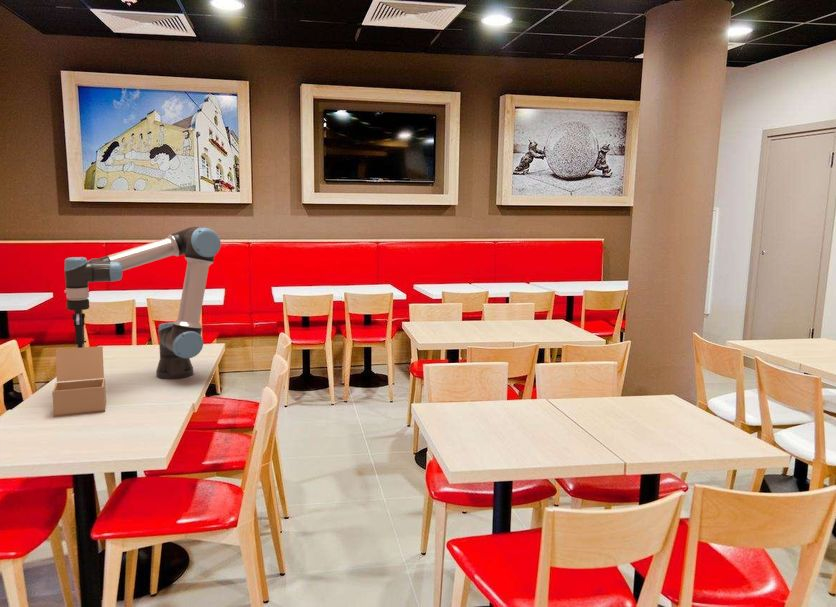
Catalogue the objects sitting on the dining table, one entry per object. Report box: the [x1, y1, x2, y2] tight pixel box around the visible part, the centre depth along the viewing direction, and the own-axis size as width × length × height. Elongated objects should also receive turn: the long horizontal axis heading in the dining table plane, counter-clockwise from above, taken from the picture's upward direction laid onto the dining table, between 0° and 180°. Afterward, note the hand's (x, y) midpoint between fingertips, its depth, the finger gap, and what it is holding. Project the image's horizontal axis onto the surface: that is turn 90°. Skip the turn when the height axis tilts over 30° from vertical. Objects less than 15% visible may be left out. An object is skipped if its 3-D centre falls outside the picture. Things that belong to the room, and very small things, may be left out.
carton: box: [51, 378, 107, 418], centre depth 238 cm, size 16×12×9 cm
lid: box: [55, 345, 105, 383], centre depth 244 cm, size 15×12×1 cm
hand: (81, 360), depth 252 cm, fingers closed
